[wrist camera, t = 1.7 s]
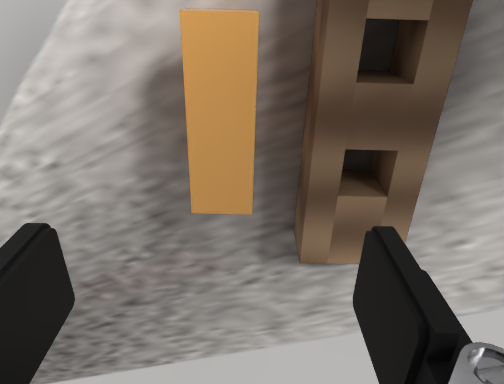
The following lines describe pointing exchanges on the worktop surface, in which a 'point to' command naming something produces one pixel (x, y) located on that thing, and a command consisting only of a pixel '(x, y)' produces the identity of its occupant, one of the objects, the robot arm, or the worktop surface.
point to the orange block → (220, 107)
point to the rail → (371, 121)
